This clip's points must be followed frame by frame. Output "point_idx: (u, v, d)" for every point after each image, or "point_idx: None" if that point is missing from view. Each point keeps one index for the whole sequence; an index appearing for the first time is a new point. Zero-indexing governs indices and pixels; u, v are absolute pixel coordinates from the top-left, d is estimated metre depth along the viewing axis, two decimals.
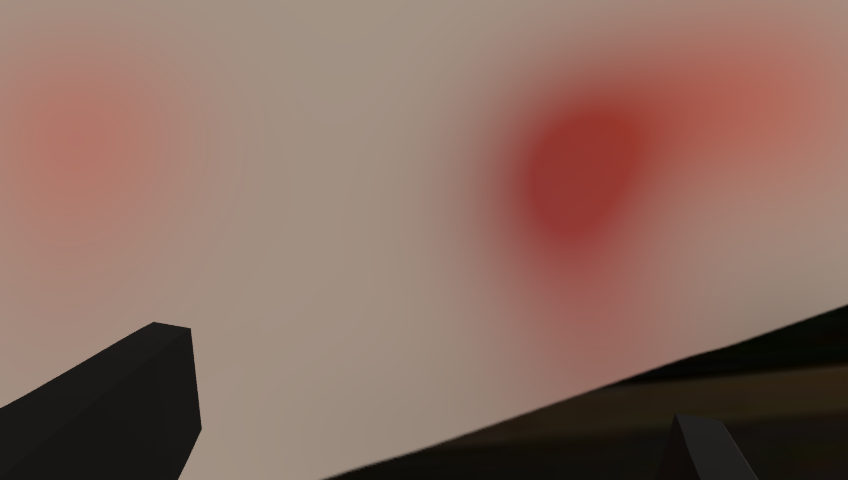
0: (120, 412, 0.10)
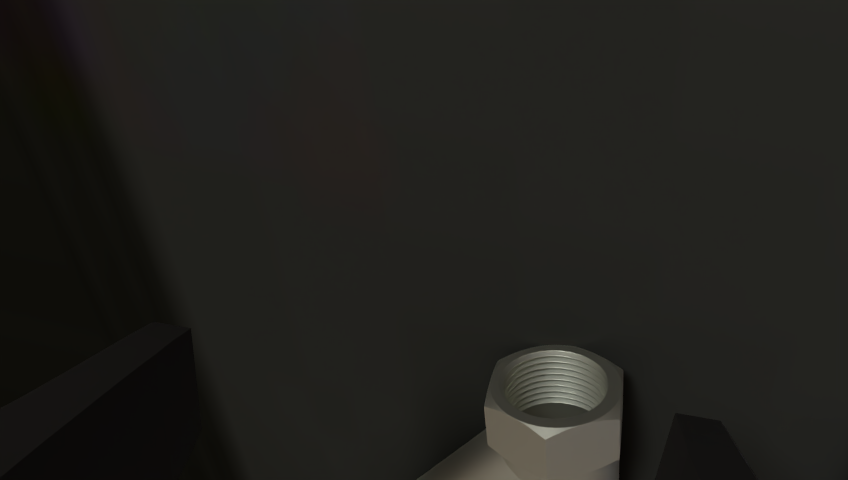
0: (120, 412, 0.10)
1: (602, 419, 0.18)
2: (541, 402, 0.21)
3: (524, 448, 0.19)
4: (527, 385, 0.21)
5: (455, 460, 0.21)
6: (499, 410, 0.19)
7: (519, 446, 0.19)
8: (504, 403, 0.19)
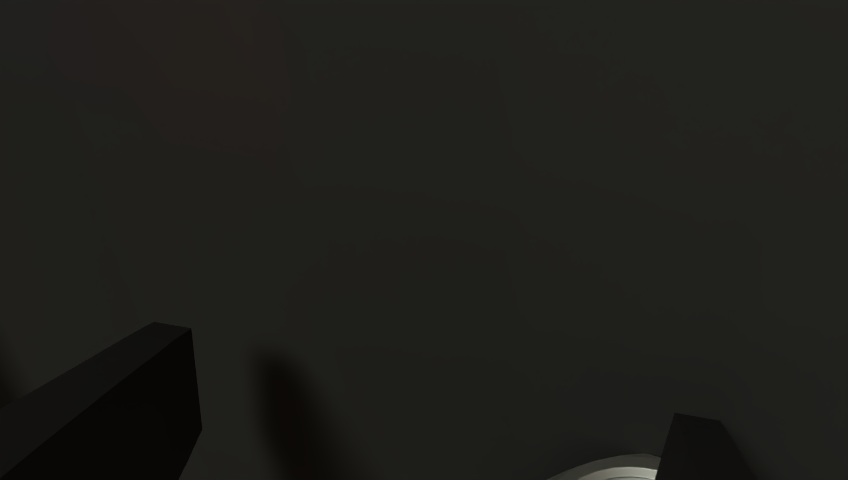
0: (120, 411, 0.10)
1: None
2: None
3: None
4: None
5: None
6: None
7: None
8: None
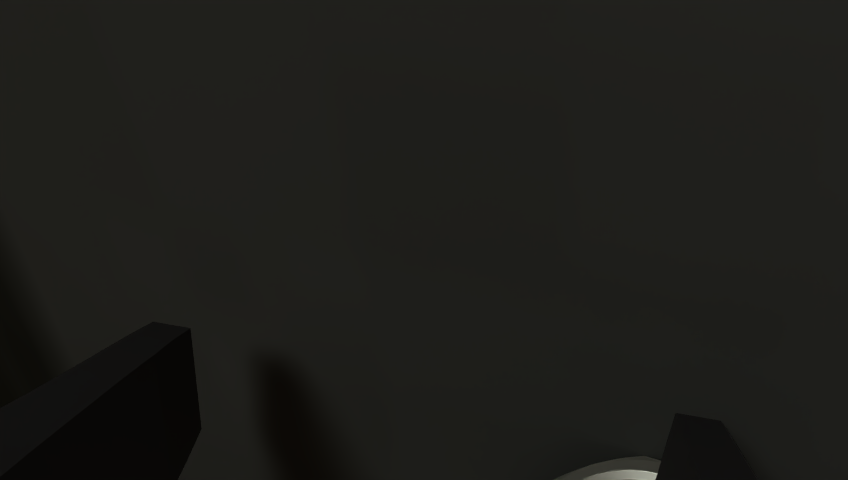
0: (119, 412, 0.10)
1: None
2: None
3: None
4: None
5: None
6: None
7: None
8: None
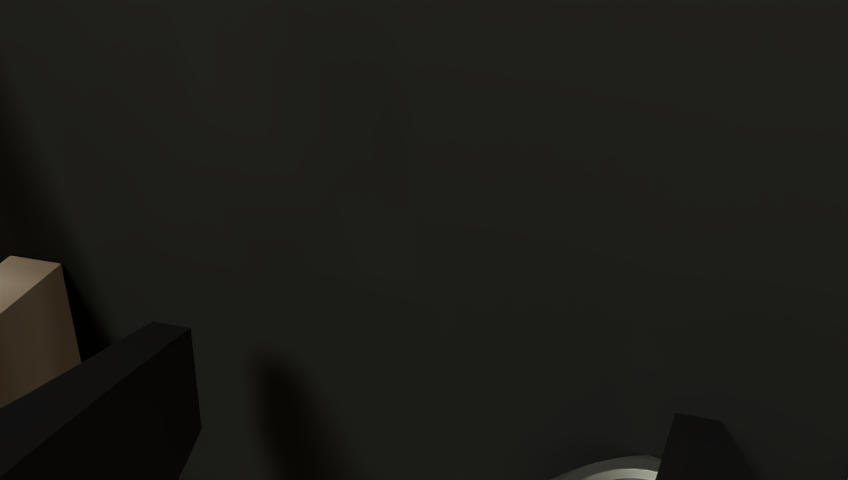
0: (120, 412, 0.10)
1: None
2: None
3: None
4: None
5: None
6: None
7: None
8: None
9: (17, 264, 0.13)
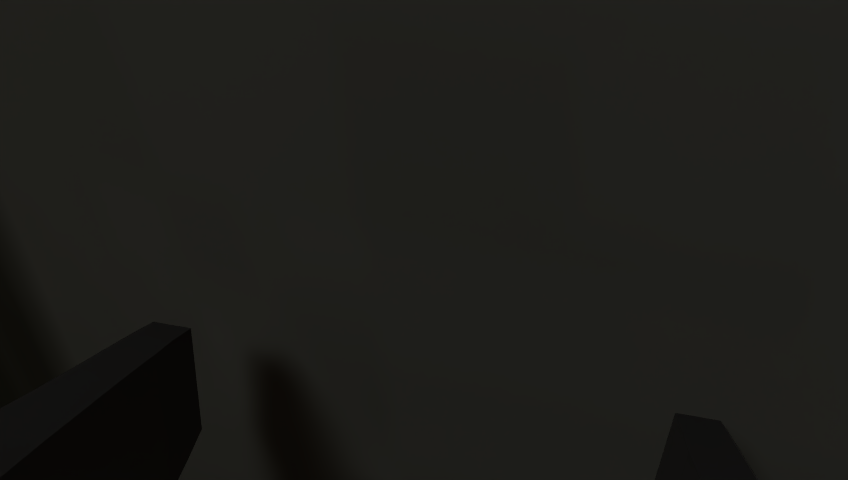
0: (119, 411, 0.10)
1: None
2: None
3: None
4: None
5: None
6: None
7: None
8: None
9: None
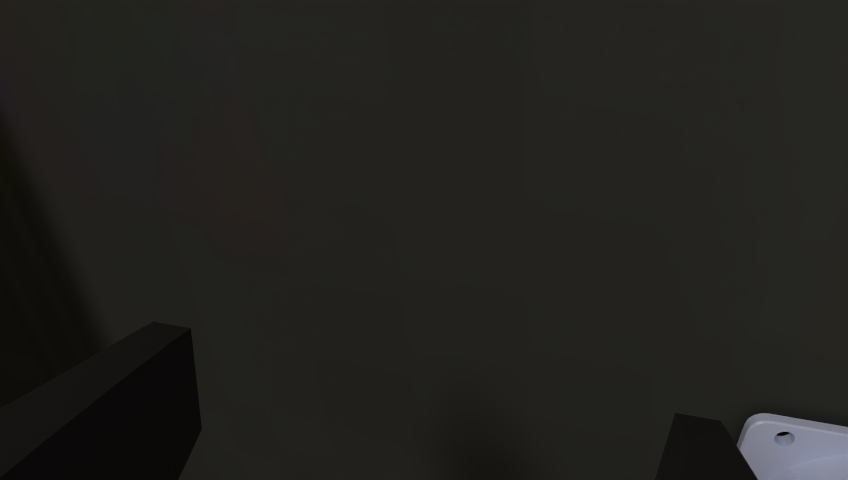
0: (120, 411, 0.10)
1: None
2: None
3: None
4: None
5: None
6: None
7: None
8: None
9: None
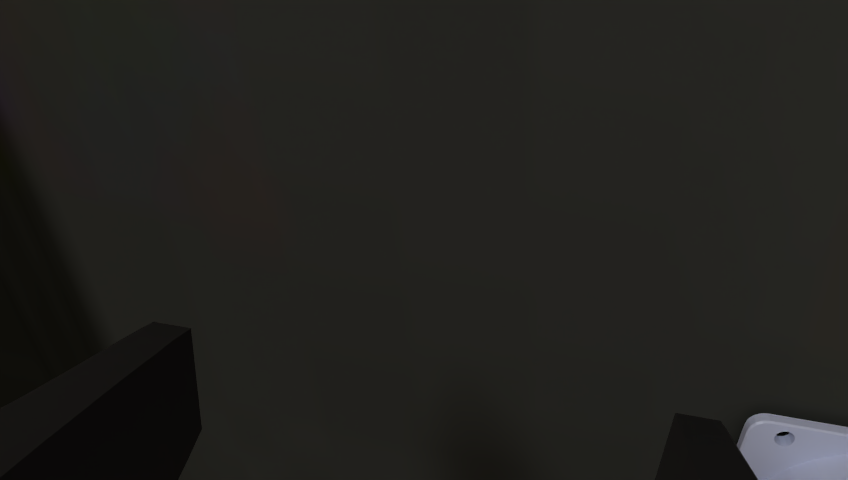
0: (120, 412, 0.10)
1: None
2: None
3: None
4: None
5: None
6: None
7: None
8: None
9: None
